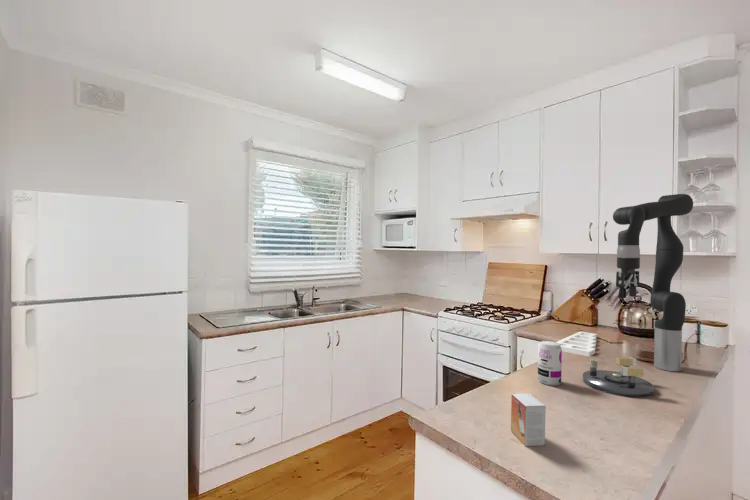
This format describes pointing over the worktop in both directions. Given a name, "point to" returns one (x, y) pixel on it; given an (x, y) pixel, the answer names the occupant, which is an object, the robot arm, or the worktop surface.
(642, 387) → the base
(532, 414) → the small box
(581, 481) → the worktop surface
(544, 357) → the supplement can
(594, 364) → the knob
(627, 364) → the knob near
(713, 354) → the worktop surface
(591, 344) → the holder
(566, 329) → the worktop surface
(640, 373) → the knob
